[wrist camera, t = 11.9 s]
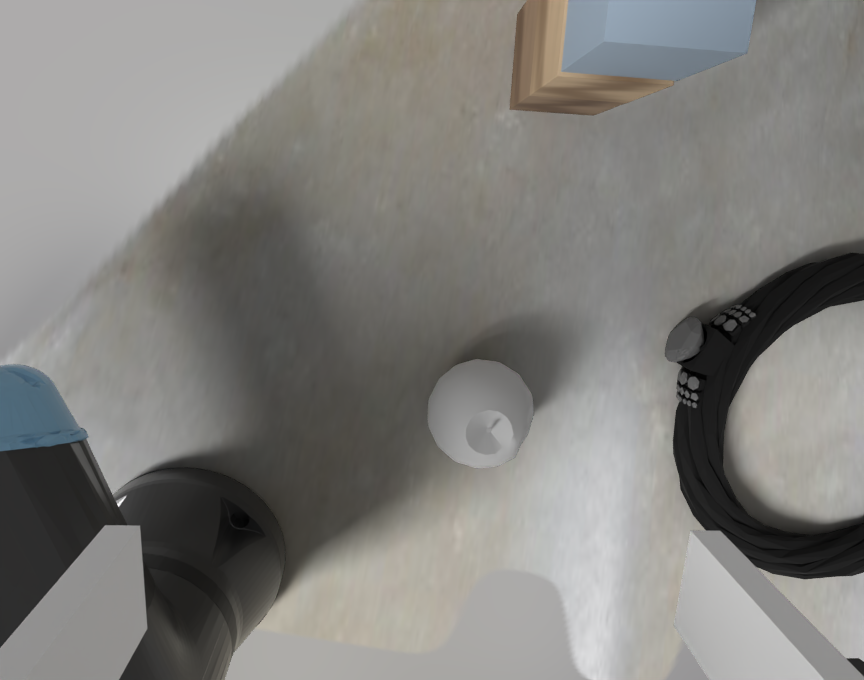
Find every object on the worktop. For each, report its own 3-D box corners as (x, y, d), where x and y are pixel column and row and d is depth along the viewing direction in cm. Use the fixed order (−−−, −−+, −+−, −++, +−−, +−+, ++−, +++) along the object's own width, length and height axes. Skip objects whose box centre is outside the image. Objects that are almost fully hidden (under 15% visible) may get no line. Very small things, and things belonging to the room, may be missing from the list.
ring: (887, 635, 50) (593, 500, 45) (852, 604, 54) (577, 476, 49) (1105, 355, 45) (801, 166, 40) (1050, 343, 49) (766, 168, 43)
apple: (404, 391, 45) (407, 432, 38) (481, 327, 44) (501, 356, 37) (466, 459, 47) (481, 512, 39) (542, 399, 46) (572, 441, 38)
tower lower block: (509, 109, 41) (529, 95, 35) (517, 14, 39) (539, -17, 34) (593, 115, 41) (627, 102, 36) (604, 21, 40) (640, -8, 34)
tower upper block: (529, 95, 35) (557, 76, 29) (539, -17, 34) (571, -61, 28) (626, 102, 36) (673, 85, 30) (640, -8, 34) (692, -49, 28)
